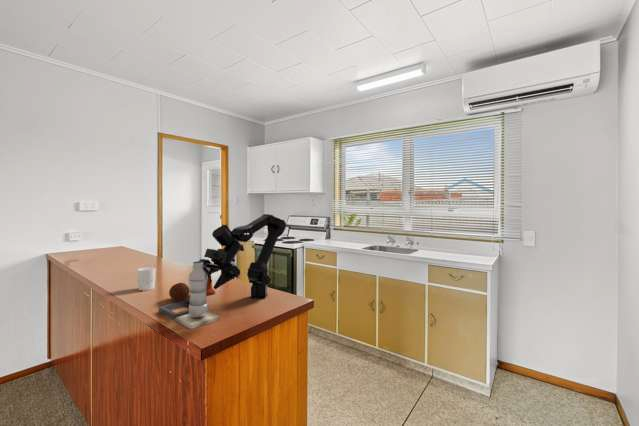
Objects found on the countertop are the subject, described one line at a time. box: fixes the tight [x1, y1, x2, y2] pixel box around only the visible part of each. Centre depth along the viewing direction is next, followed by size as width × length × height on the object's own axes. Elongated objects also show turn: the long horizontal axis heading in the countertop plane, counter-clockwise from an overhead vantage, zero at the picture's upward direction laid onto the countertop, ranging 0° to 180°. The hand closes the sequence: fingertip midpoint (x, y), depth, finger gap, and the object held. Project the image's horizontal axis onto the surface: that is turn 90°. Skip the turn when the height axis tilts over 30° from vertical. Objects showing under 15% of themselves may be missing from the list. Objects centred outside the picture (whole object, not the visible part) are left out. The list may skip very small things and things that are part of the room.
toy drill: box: [206, 269, 220, 296], centre depth 138 cm, size 5×19×15 cm, turn 47°
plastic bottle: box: [187, 260, 209, 318], centre depth 108 cm, size 6×7×20 cm
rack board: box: [174, 311, 221, 330], centre depth 108 cm, size 11×11×1 cm
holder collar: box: [158, 298, 190, 321], centre depth 117 cm, size 12×12×2 cm
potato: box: [168, 282, 190, 303], centre depth 130 cm, size 8×12×8 cm, turn 53°
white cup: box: [136, 266, 157, 292], centre depth 147 cm, size 8×8×10 cm
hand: (206, 286), depth 111 cm, fingers open, 9 cm apart
